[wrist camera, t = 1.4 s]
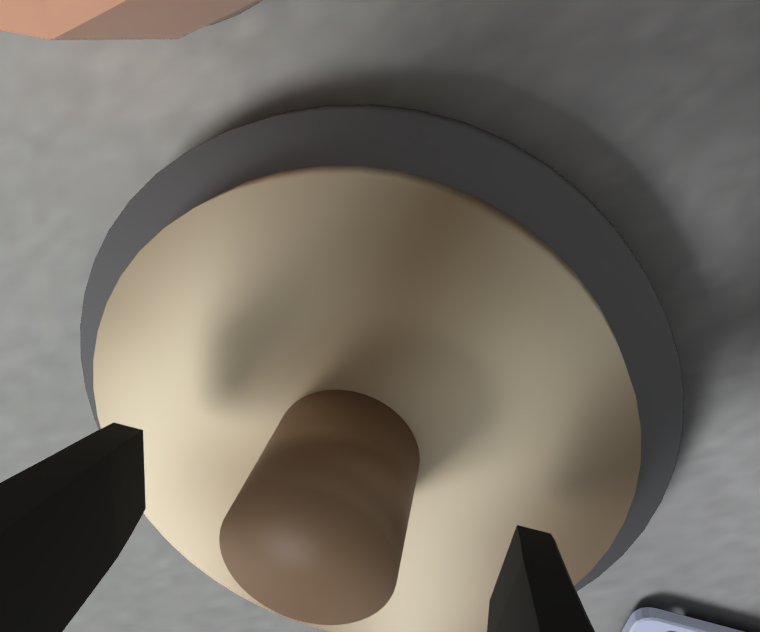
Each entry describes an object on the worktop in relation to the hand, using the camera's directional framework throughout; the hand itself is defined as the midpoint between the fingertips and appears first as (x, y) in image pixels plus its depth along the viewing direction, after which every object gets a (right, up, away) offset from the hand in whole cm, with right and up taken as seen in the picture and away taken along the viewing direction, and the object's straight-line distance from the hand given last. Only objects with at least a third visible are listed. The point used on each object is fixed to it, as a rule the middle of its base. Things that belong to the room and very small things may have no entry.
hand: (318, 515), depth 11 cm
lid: (+1, +1, +3) cm, 3 cm away
